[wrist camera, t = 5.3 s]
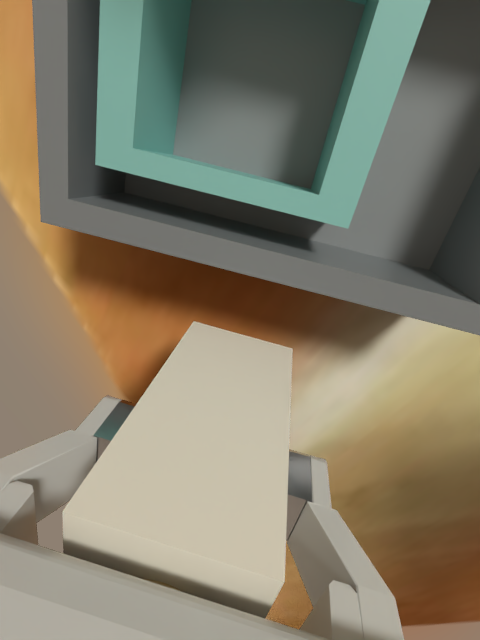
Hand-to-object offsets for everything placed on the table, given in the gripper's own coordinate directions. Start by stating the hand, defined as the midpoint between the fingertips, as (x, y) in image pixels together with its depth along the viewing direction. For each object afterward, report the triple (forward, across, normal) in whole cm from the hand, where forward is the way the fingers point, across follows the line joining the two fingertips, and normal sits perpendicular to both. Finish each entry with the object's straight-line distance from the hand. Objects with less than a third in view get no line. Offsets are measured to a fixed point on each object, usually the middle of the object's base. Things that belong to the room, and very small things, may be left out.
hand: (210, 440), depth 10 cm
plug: (+4, 0, 0) cm, 4 cm away
